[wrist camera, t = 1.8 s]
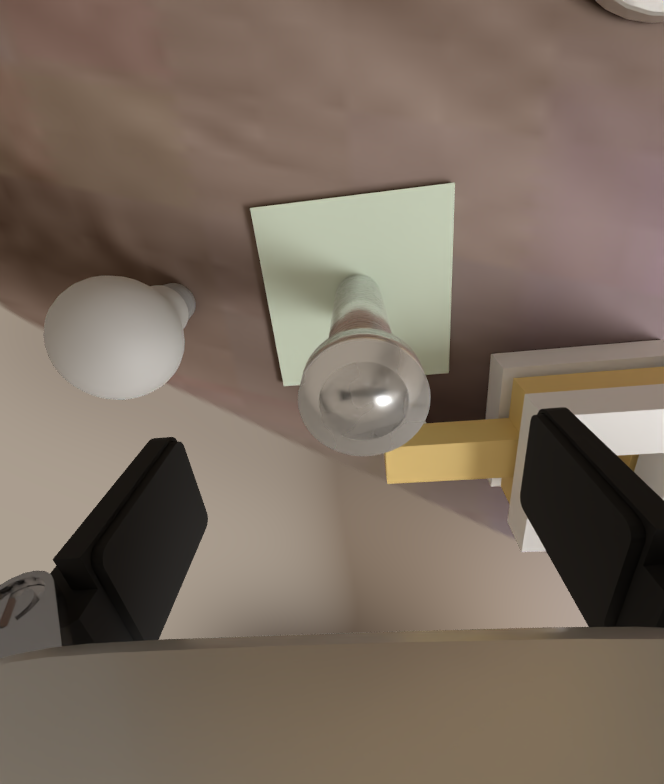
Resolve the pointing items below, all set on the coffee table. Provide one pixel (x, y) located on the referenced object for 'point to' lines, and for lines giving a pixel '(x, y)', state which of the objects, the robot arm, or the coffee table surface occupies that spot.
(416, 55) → the coffee table surface
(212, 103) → the coffee table surface
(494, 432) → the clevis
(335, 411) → the steel pin
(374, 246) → the pin mat
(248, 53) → the coffee table surface
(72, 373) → the lightbulb
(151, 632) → the robot arm
